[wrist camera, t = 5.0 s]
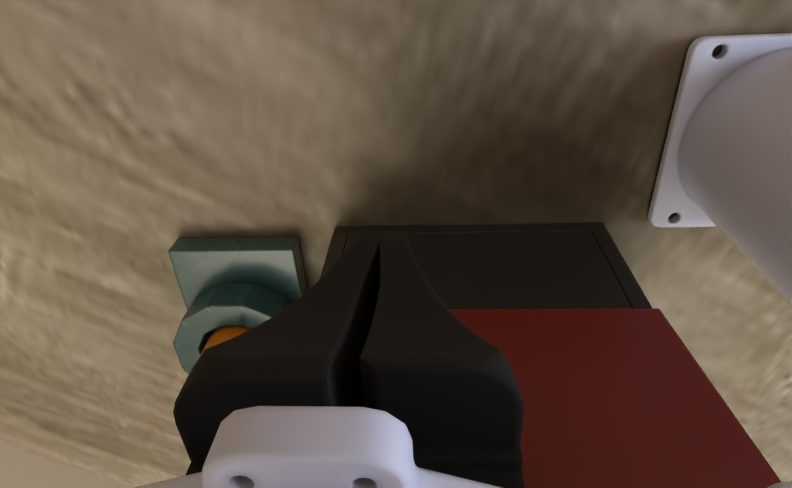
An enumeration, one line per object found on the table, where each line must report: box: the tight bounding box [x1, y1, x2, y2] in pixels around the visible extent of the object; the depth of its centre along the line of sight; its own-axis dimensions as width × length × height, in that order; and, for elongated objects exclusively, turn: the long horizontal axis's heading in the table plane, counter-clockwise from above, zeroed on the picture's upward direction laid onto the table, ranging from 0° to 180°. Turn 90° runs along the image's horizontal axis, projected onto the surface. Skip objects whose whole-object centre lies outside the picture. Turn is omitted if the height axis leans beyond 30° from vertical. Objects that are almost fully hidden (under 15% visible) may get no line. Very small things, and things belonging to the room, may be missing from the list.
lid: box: [450, 309, 781, 488], centre depth 14 cm, size 11×12×1 cm
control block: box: [169, 237, 308, 374], centre depth 27 cm, size 6×10×3 cm, turn 3°
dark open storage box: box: [320, 223, 652, 310], centre depth 24 cm, size 10×12×6 cm
